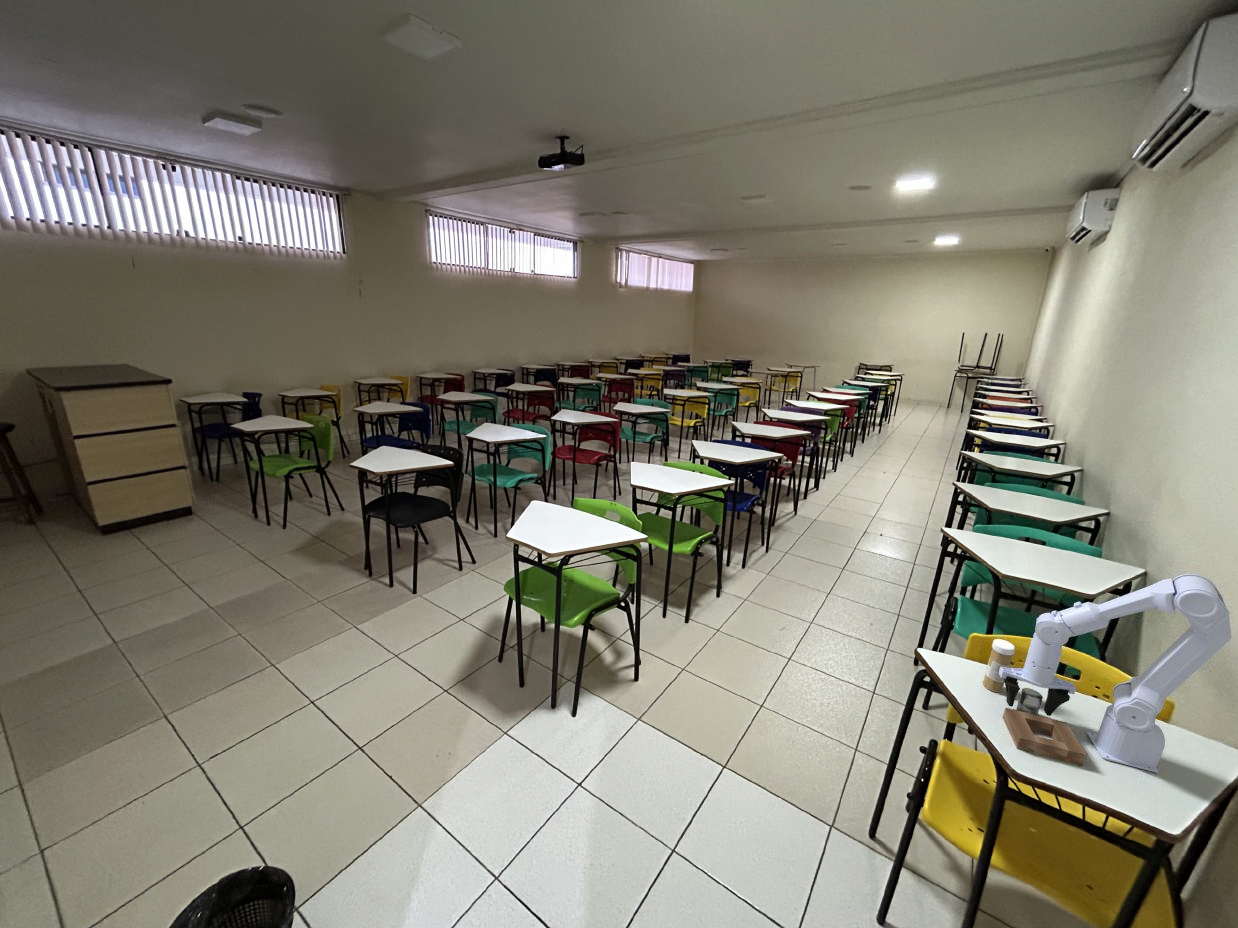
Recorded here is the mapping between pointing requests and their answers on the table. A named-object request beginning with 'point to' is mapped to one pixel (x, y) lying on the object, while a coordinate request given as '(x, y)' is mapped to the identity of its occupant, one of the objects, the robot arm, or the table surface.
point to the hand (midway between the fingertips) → (1027, 708)
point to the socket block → (1058, 748)
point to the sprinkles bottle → (998, 664)
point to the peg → (1029, 701)
